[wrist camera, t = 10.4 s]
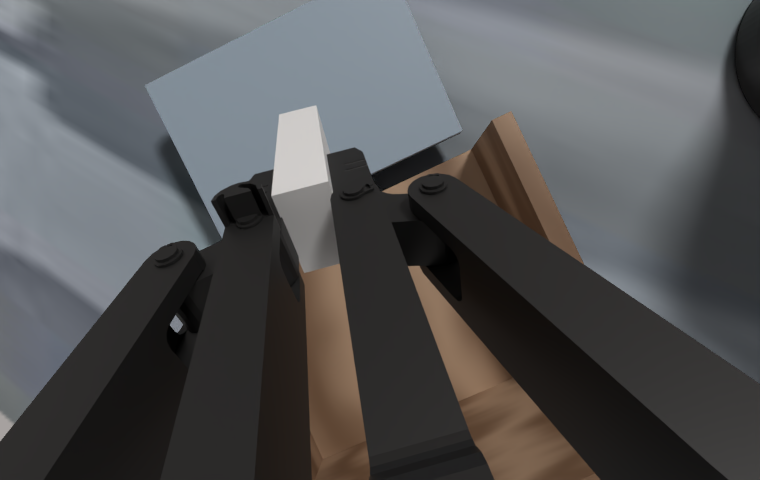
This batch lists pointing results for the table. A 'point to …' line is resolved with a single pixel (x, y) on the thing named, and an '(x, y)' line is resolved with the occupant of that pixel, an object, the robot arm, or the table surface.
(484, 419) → the box
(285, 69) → the panel
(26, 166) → the table surface
